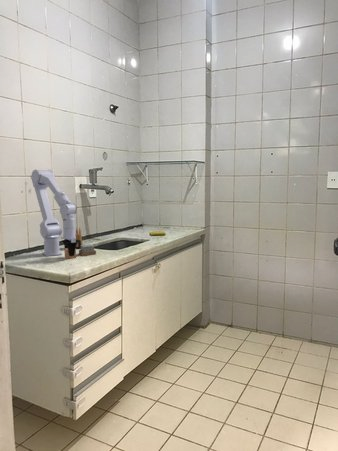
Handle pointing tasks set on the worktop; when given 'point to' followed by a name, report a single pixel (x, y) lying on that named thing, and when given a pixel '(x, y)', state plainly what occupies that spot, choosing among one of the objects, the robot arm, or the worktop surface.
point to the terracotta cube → (68, 254)
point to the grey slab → (87, 247)
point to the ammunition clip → (78, 239)
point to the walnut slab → (87, 253)
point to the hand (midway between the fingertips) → (70, 254)
